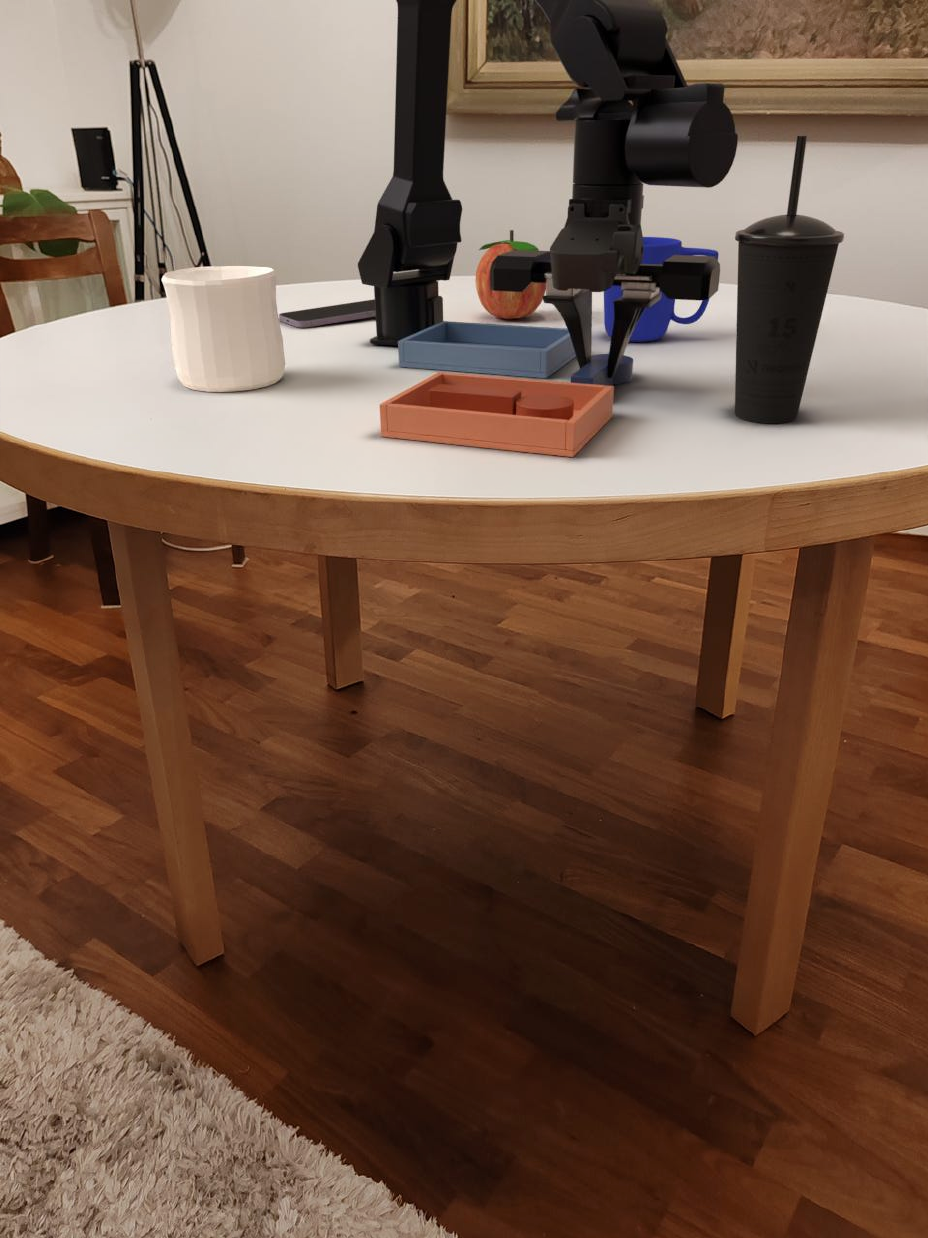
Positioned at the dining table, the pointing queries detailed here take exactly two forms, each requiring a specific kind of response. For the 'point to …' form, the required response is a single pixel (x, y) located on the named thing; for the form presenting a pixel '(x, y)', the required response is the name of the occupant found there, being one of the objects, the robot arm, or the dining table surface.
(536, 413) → the terracotta spoon
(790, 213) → the drinking cup
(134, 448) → the dining table surface
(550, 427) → the terracotta tray
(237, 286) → the cup
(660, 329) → the mug
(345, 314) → the smartphone
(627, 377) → the blue spoon
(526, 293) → the fruit
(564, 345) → the blue tray
